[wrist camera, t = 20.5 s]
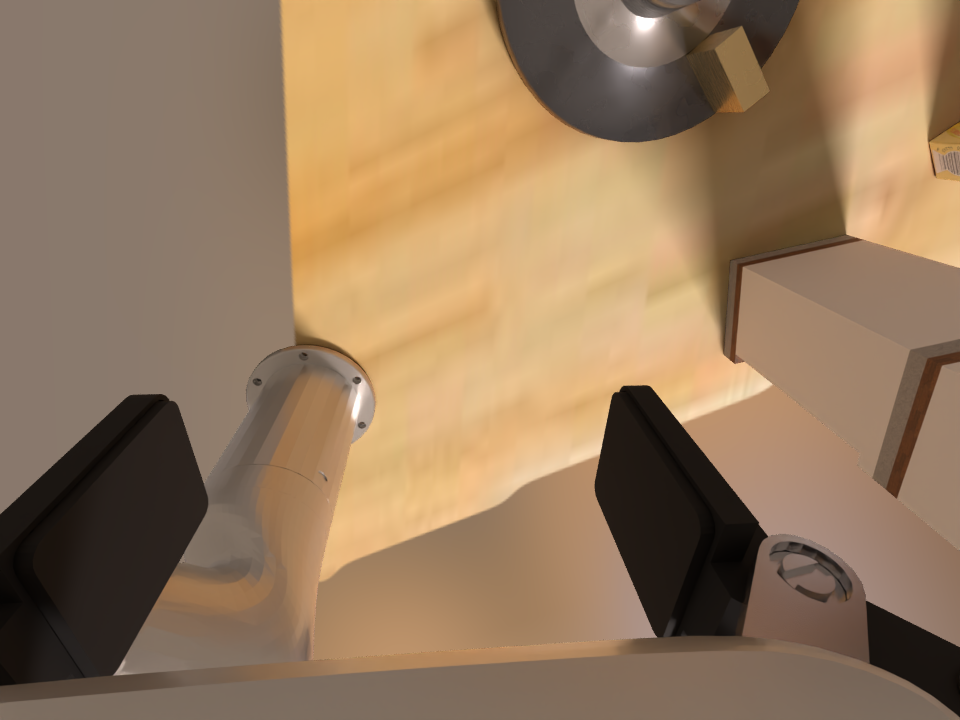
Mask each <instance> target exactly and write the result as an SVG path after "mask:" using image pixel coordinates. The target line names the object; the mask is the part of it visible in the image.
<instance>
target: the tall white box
mask: <svg viewBox="0 0 960 720" xmlns="http://www.w3.org/2000/svg"><path fill="white" fill-rule="evenodd" d="M724 355H725V356H726V357H727V358H728V359H730V360H731V361H732V362H733V363H734V364H736V363H741V362H746V363H747V364H748V365H750V366H751V367H752V368H753V369H755V370H756V371H757V372H758V373H760V374H761V375H762V376H763V377H765V378H766V379H767V380H768V381H770V382H771V383H772V384H774V385H775V386H776V387H777V388H779V389H780V390H781V391H782V392H784V393H785V394H786V395H787V396H789V397H790V398H791V399H792V400H794V401H795V402H796V403H797V404H799V405H800V406H801V407H802V408H804V409H805V410H806V411H807V412H809V413H810V414H811V415H812V416H814V417H815V418H816V419H817V420H819V421H820V422H821V423H822V424H824V425H825V426H826V427H827V428H829V429H830V430H831V431H832V432H834V433H835V434H836V435H837V436H839V437H840V438H841V439H842V440H844V441H845V442H846V443H847V444H849V445H850V446H851V447H852V448H854V449H855V450H856V451H857V452H859V453H860V455H859V458H858V462H857V466H858V467H859V468H861V469H862V470H863V471H864V472H865V473H867V474H868V475H869V476H870V477H871V478H873V479H874V480H875V481H876V482H877V483H879V484H880V485H881V486H882V487H883V488H885V489H886V490H887V491H888V492H889V493H891V494H892V495H893V496H894V497H895V498H897V499H898V500H899V501H900V502H901V503H903V504H904V505H905V506H906V507H908V508H909V509H910V510H911V511H912V512H914V513H915V514H916V515H917V516H918V517H919V518H921V519H922V520H923V521H924V522H926V523H927V524H928V525H929V526H930V527H932V528H933V529H934V530H935V531H936V532H938V533H939V534H940V535H941V536H942V537H944V538H945V539H946V540H947V541H948V542H950V543H951V544H952V545H953V546H955V547H956V548H957V549H958V550H959V551H960V268H957V267H954V266H950V265H947V264H944V263H940V262H937V261H933V260H930V259H927V258H923V257H920V256H916V255H913V254H910V253H906V252H903V251H900V250H896V249H893V248H889V247H886V246H883V245H879V244H876V243H872V242H869V241H866V240H862V239H859V238H855V237H852V236H849V235H844V236H839V237H835V238H830V239H826V240H821V241H816V242H812V243H807V244H803V245H798V246H794V247H789V248H785V249H780V250H776V251H771V252H767V253H762V254H758V255H753V256H748V257H744V258H739V259H735V260H730V273H729V287H728V302H727V316H726V330H725V344H724Z"/></svg>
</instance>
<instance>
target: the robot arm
mask: <svg viewBox="0 0 960 720" xmlns="http://www.w3.org/2000/svg"><path fill="white" fill-rule="evenodd" d="M304 353H306V354H304ZM358 377H359V378H358ZM246 401H247V405H248V409H249V412H248V413H247V415H246V417H245V418H244V420H243V422H242V423H241V425H240V426H239V428H238V429H237V431H236V433H235V434H234V436H233V438H232V439H231V441H230V442H229V444H228V446H227V447H226V449H225V450H224V452H223V454H222V455H221V457H220V458H219V460H218V462H217V463H216V465H215V467H214V468H213V470H212V471H211V473H210V475H209V476H208V478H207V479H206V481H205V483H203V480H202V477H201V474H200V471H199V468H198V465H197V462H196V459H195V456H194V453H193V450H192V447H191V444H190V441H189V438H188V435H187V431H186V428H185V425H184V422H183V419H182V417H181V413H180V410H179V408H178V405H177V404H176V403H175V402H174V401H169V399H168V398H167V397H166V396H165V395H162V394H151V395H150V394H148V395H130V396H128V397H127V398H126V399H124V400H123V401H122V402H121V403H120V404H119V405H118V406H117V407H116V408H115V409H114V410H113V411H112V412H110V413H109V414H108V415H107V416H106V417H105V418H104V419H103V420H102V421H101V422H100V423H99V424H97V425H96V426H95V427H94V428H93V429H92V430H91V431H90V432H89V433H88V434H87V435H86V436H85V437H83V438H82V439H81V440H80V441H79V442H78V443H77V444H76V445H75V446H74V447H73V448H71V449H70V451H68V452H67V453H66V454H65V455H64V456H63V457H62V458H61V459H60V460H59V461H58V462H57V463H55V464H54V465H53V466H52V467H51V468H50V469H49V470H48V471H47V472H46V473H45V474H43V475H42V476H41V477H40V478H39V479H38V480H37V481H36V482H35V483H34V484H33V485H32V486H30V487H29V488H28V489H27V490H26V491H25V492H24V493H23V494H22V495H21V496H20V497H19V498H18V499H17V500H16V501H14V502H13V503H12V504H11V505H10V506H9V507H8V508H7V509H6V510H5V511H3V512H2V513H1V514H0V720H960V647H958V646H956V645H954V644H952V643H950V642H948V641H946V640H944V639H942V638H940V637H938V636H936V635H934V634H932V633H930V632H928V631H926V630H924V629H922V628H920V627H918V626H916V625H914V624H912V623H910V622H908V621H906V620H904V619H902V618H900V617H898V616H896V615H894V614H892V613H890V612H888V611H886V610H884V609H882V608H880V607H878V606H876V605H874V604H872V603H870V602H868V601H866V595H865V591H864V588H863V584H862V582H861V581H860V579H859V578H858V576H857V575H856V573H855V572H854V570H853V569H852V568H851V567H850V566H849V565H848V564H847V563H845V562H844V561H843V560H842V559H841V558H840V557H838V556H837V555H836V554H834V553H833V552H831V551H830V550H829V549H827V548H825V547H823V546H821V545H819V544H817V543H815V542H813V541H811V540H808V539H805V538H802V537H798V536H795V535H787V534H778V535H771V536H769V537H768V536H767V534H766V533H765V532H764V531H763V529H762V528H761V527H760V526H759V522H758V521H757V520H756V518H755V517H754V516H753V515H752V513H751V512H750V511H749V509H748V508H747V507H746V506H745V504H744V503H743V502H742V501H741V500H740V498H739V497H738V496H737V494H736V493H735V492H734V491H733V489H732V488H731V487H730V486H729V484H728V483H727V482H726V481H725V479H724V478H723V477H722V476H721V474H720V473H719V472H718V471H717V469H716V468H715V467H714V466H713V464H712V463H711V462H710V461H709V459H708V458H707V457H706V455H705V454H704V453H703V452H702V450H701V449H700V448H699V447H698V445H697V444H696V443H695V442H694V441H693V439H692V438H691V437H690V435H689V434H688V433H687V432H686V430H685V429H684V428H683V427H682V425H681V424H680V423H679V422H678V420H677V419H676V418H675V417H674V415H673V414H672V413H671V412H670V410H669V409H668V408H667V407H666V405H665V404H664V403H663V402H662V400H661V399H660V398H659V397H658V395H657V394H656V393H655V391H654V390H653V389H652V388H651V387H650V386H647V385H642V386H623V387H622V388H621V389H620V392H615V393H614V394H613V395H612V399H611V404H610V409H609V414H608V419H607V424H606V429H605V434H604V439H603V444H602V449H601V454H600V459H599V464H598V469H597V474H596V479H595V493H596V497H597V500H598V502H599V505H600V507H601V509H602V512H603V514H604V516H605V519H606V521H607V524H608V526H609V528H610V531H611V533H612V535H613V538H614V540H615V542H616V545H617V547H618V549H619V552H620V554H621V556H622V559H623V561H624V563H625V566H626V568H627V571H628V573H629V575H630V578H631V580H632V582H633V585H634V587H635V589H636V591H637V594H638V596H639V599H640V601H641V603H642V606H643V608H644V611H645V613H646V615H647V618H648V620H649V622H650V624H651V627H652V629H653V631H654V633H655V635H656V636H657V637H658V638H640V639H620V640H599V641H584V642H570V643H554V644H540V645H524V646H510V647H495V648H481V649H480V648H479V649H464V650H452V651H451V650H450V651H436V652H422V653H408V654H394V655H380V656H368V657H367V656H366V657H353V658H340V659H325V660H313V648H314V626H315V609H316V598H317V589H318V582H319V577H320V571H321V565H322V561H323V556H324V552H325V547H326V543H327V539H328V535H329V531H330V527H331V522H332V518H333V514H334V510H335V506H336V502H337V498H338V494H339V490H340V486H341V482H342V478H343V474H344V470H345V466H346V462H347V458H348V454H349V450H350V446H351V444H352V443H354V442H355V441H357V440H358V439H359V438H360V437H362V435H363V434H364V433H365V432H366V431H367V430H368V428H369V426H370V424H371V422H372V419H373V416H374V412H375V405H376V401H375V392H374V389H373V386H372V383H371V382H370V380H369V378H368V376H367V375H366V373H365V372H364V371H363V370H362V369H361V368H360V366H358V365H357V364H356V363H355V362H354V361H352V360H351V359H350V358H348V357H346V356H345V355H343V354H341V353H339V352H337V351H334V350H331V349H329V348H325V347H320V346H315V345H298V346H291V347H287V348H284V349H280V350H278V351H276V352H274V353H272V354H270V355H269V356H267V357H266V358H265V359H264V360H263V361H261V363H259V365H258V366H257V367H256V369H255V370H254V371H253V373H252V375H251V377H250V379H249V381H248V385H247V389H246ZM183 554H184V560H185V562H183V563H179V561H180V559H181V557H182V555H183Z"/></svg>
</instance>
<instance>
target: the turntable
mask: <svg viewBox="0 0 960 720" xmlns="http://www.w3.org/2000/svg"><path fill="white" fill-rule="evenodd" d="M798 2H799V0H701V1H698V2H696V3H693V4H691V5H689V6H686V7H684V8H682V9H679V10H677V11H674V12H672V13H670V14H667V15H665V16H662V17H659V18H654V19H647V18H642V17H639V16H637V15H635V14H633V13H632V12H630V11H629V10H628V9H627V8H626V7H625V5H624V4H623V3H622V1H621V0H496V6H497V12H498V17H499V23H500V27H501V31H502V34H503V37H504V41H505V44H506V47H507V50H508V52H509V55H510V57H511V59H512V62H513V64H514V66H515V68H516V70H517V72H518V74H519V75H520V77H521V79H522V80H523V82H524V84H525V86H526V87H527V88H528V89H529V91H530V92H531V93H532V95H533V96H534V97H535V99H536V100H537V101H538V102H539V103H540V104H541V105H542V106H543V107H544V108H545V109H546V110H547V111H548V112H549V113H550V114H551V115H553V116H554V117H555V118H557V119H558V120H560V121H561V122H562V123H564V124H565V125H567V126H569V127H571V128H573V129H575V130H577V131H579V132H581V133H584V134H587V135H590V136H593V137H596V138H601V139H607V140H613V141H619V142H644V141H651V140H658V139H661V138H665V137H669V136H672V135H675V134H678V133H680V132H682V131H685V130H687V129H690V128H692V127H694V126H695V125H697V124H699V123H701V122H702V121H704V120H706V119H708V118H709V117H711V116H712V115H713V114H715V113H716V112H745V111H746V110H747V109H749V108H750V107H751V106H752V105H754V104H755V103H756V102H757V101H759V100H760V99H761V98H762V97H763V96H765V95H766V94H767V93H768V92H770V90H769V87H768V85H767V83H766V80H765V78H764V76H763V73H762V71H761V68H762V67H763V65H764V64H765V62H766V61H767V60H768V58H769V57H770V56H771V54H772V53H773V51H774V49H775V48H776V46H777V44H778V43H779V41H780V39H781V38H782V36H783V34H784V33H785V31H786V29H787V26H788V24H789V22H790V20H791V18H792V16H793V14H794V12H795V10H796V8H797V5H798Z"/></svg>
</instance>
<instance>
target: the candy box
mask: <svg viewBox="0 0 960 720" xmlns="http://www.w3.org/2000/svg"><path fill="white" fill-rule="evenodd" d="M929 144H930V149H931V154H932V159H933V163H934V168H935V173H936V178H937V179H945V180H953V181H960V122H959V123H957V124H956V125H954V126H953V127H951V128H950V129H948V130H946V131H945V132H943V133H942V134H940V135H939V136H937V137H936V138H934V139H933V140H931V141H930V142H929Z"/></svg>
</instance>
